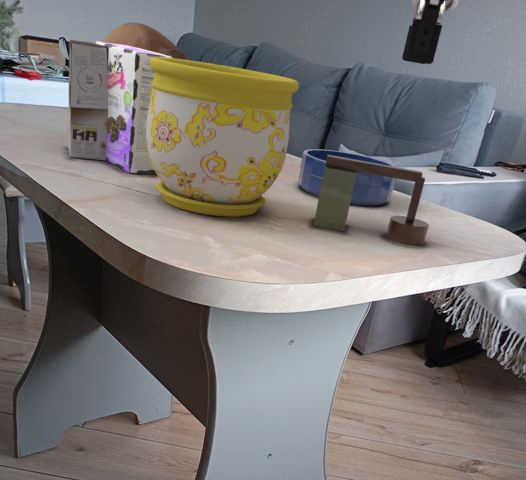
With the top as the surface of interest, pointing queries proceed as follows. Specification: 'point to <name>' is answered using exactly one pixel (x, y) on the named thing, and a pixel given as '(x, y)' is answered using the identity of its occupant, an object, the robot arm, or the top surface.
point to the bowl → (366, 185)
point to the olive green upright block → (335, 198)
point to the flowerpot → (217, 134)
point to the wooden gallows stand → (410, 227)
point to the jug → (144, 39)
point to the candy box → (129, 106)
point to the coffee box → (88, 100)
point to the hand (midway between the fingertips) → (416, 62)
